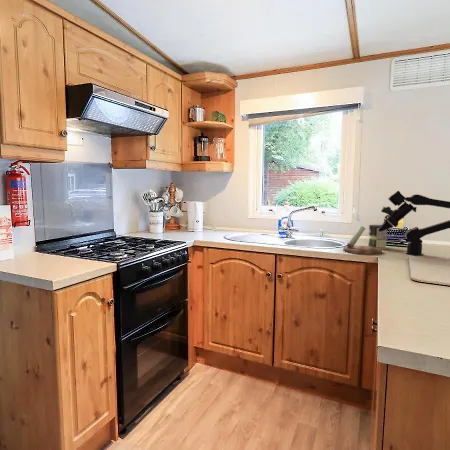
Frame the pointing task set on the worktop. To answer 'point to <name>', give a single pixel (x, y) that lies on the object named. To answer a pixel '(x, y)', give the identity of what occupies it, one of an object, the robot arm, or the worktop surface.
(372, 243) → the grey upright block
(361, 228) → the folding leg
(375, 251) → the stool seat
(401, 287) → the worktop surface
